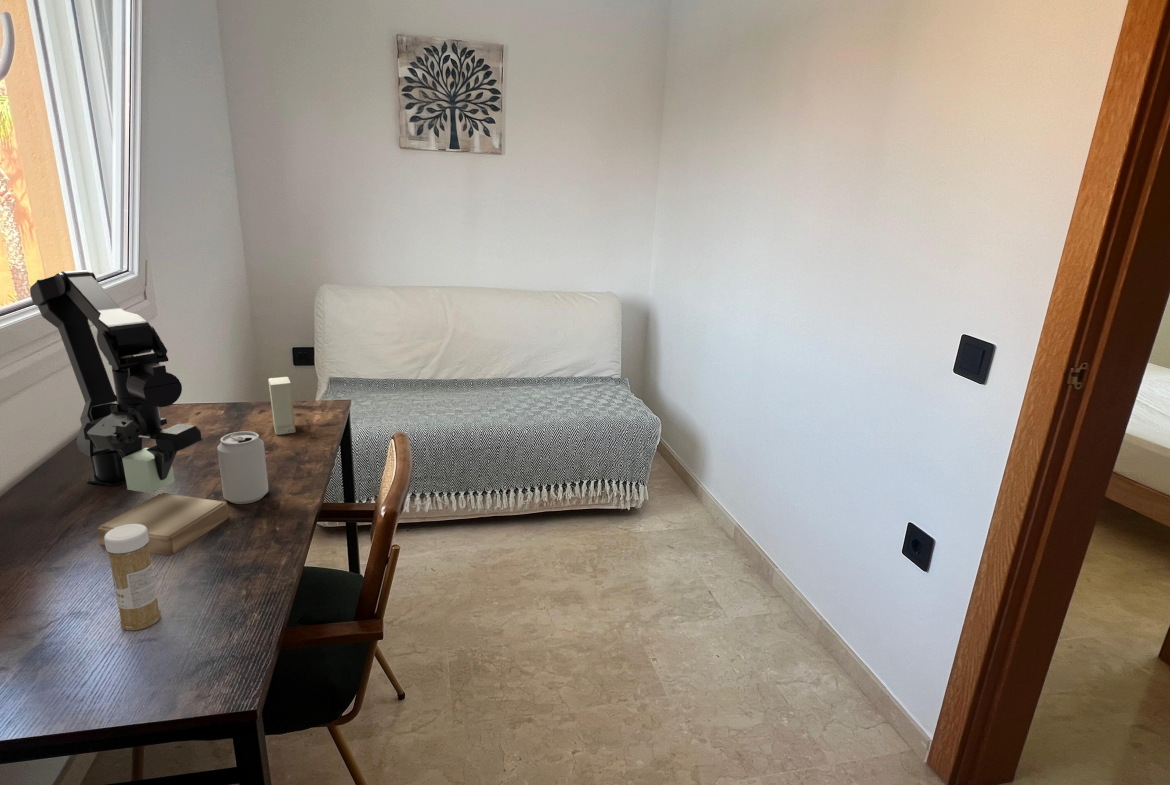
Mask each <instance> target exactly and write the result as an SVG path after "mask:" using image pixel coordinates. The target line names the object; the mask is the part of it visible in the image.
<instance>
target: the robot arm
mask: <svg viewBox="0 0 1170 785" xmlns="http://www.w3.org/2000/svg"><path fill="white" fill-rule="evenodd" d="M29 293H30V298H31V301H32V303H33V304H34V305H35V306H36V307H37V308H38V311H39V312H40V315H41V316H42V318H43V319H44V320H45V321H47V322H49V323H50V324H52V326H54V327H55V328H57V329H58V330H57V331H58V332H59V335H60V337H61V341H62V343H63V345H64V348H65V351H66V353H67V357H68V360H69V362H70V365H71V367H72V370H73V372H74V376H75V378H76V382H77V384H78V386H79V390H80V392H81V395H82V397H83V401H84V406H83V409H82V413H81V415H80V417H79V422H80V424H81V426H80V429H79V432H78V435H77V438H76V444H77V447H78V450H79V452H80V453H82V454H84V455H85V456H87V457H88V458H90V461H91V468H92V471H93V476H92V477H91V476H90V477H89V478H87V479H86V482H87V483H93V484H97V485H106V486H113V487H116V486H118V485H121V484H123V483H125V482H126V477H125V472H124V466H123V460H122V458H124V457H126V456H128V455H130V454H133V453H135V452H137V451H139V450H142V449H143V439H152V440H155V445H153V446H151V447H148V448H149V449H147V451H149V452H150V453H152V454H153V455H154V458H155V462H156V467H157V472H158V475H159V478H160V480H164V479H166V478H167V475H168V473H169V470H170V468H171V465H172V466H173V463H174V460H175V458H176V455H177V454H178V451H181V450H184V449H186V448H187V447H188V448H189V447H190V446H192V445H194V444H196V443H198V442H200V441H203V439H202V432H201V429H200V427H198V426H196V425H193V424H184V423H178V424H175V425H172V426H170V427H168V428H162V426H164V425H167V424H168V420H167V418H166V417H161V414H160V408H165V407H169V406H172V405H173V404H175V403H176V402H177V401H178V400H179V399H180V397H181V394H182V392H183V391H182V390H183V386H182V383H181V381H180V380H179V378H178V377H177V376H176V375H174V374H173V373H170V372H168V371H167V368H166V365H165V364H162V363H167V362H169V357H168V355H167V353H168V349H167V347H166V346H165V344H164V343H163V341H162V338H161V337H160V336H159V334H158V332H157V331H156V329H155V328H154V327H153V325H151V323H149V322H148V321H147V320H145V318H143V317H142V316H140V315H139V314H137V313H133V312H130V311H126V310H125V309H123V308H122V307H121V305H119V304H118V303H117V302H116V301H115V299H114V298H113V297H112V296H111V295H110V293H108V292H107V291H106V289H104V287H103V286H102V284H100V283H99V282H98V280H97V276H96V275H95V273H94V271H91V270H88V269H81V270H80V269H79V270H78V269H77V270H67V271H61V272H58V273H56V274H55V275H53V276H49V277H46V278H43V279H42V278H39V279H37V280H36V282H34V284H32V285H31V286H30V289H29ZM89 322H91V324H92V325H93V326H94V327H95V328H96V330H97V331H96V339H95V337H94V334H93V331H92V329H91V326H90V323H89ZM96 341H97V342H96ZM98 347H99V348H98ZM99 349H100V351H101V353H102V354H103V356H104V357H105V359H106V360H107V362H108V363H107V364H108V365H109V366H111V371H112V377H113V378H112V379H113V383H114V389H113V386H112V383H111V381H110V378H109V375H108V373H107V370H106V366H105V365H104V362H103V359H102V356H101V354H100V351H99ZM152 351H153V353H152ZM114 390H115V391H114Z"/></svg>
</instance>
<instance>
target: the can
mask: <svg viewBox="0 0 1170 785" xmlns="http://www.w3.org/2000/svg"><path fill="white" fill-rule="evenodd" d="M219 440H220V443H219V444H218V446H217V447H216V449H217V450H216V451H217V456H218V465H219V472H220V480H221V489H222V495H223V499H225V500H226V501H227V502H230V503H231V504H236V505H244V504H246V505H247V504H251V503H255V502H257V501H259V500H261V499H262V498H264V496H266V494H268V493H269V482H268V472H267V471H268V470H267V463H266V462H267V460H266V451H265V442H264V440H262V439H260V435H259V434H258V433H257V432H254V431H249V430H248V431H245V430H244V431H243V430H242V431H237V432H236V431H234V432H232V433H228V434H225V435H224V436H222V437H221V438H220V439H219Z"/></svg>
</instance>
